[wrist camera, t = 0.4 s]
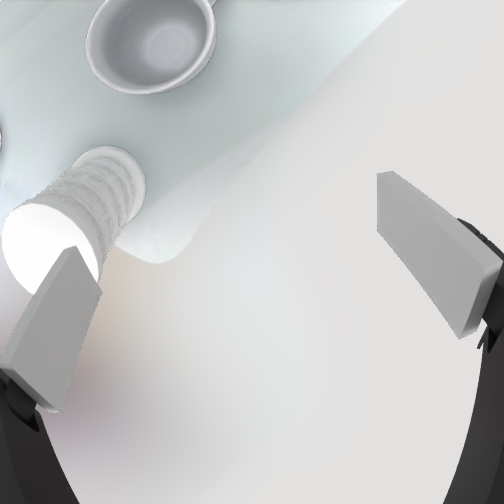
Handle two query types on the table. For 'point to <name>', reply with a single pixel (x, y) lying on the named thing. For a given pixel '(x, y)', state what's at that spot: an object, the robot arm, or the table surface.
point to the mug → (150, 43)
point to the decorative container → (74, 215)
